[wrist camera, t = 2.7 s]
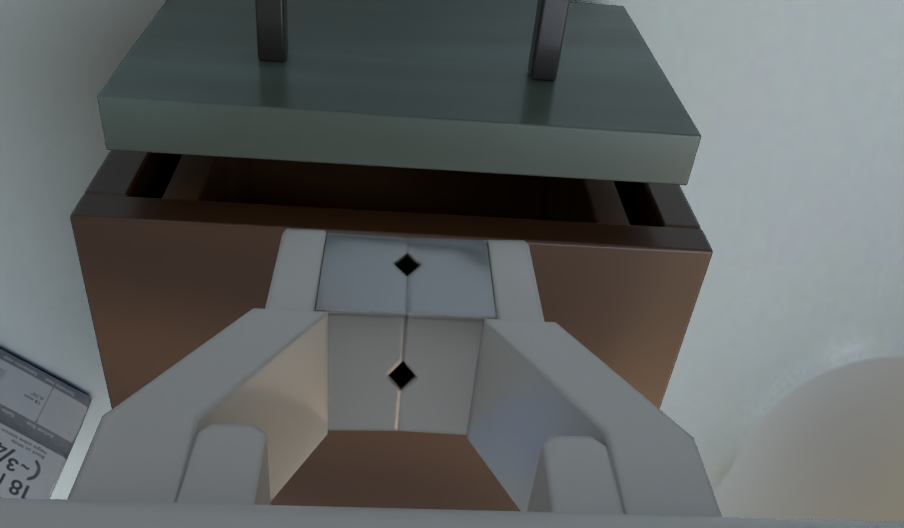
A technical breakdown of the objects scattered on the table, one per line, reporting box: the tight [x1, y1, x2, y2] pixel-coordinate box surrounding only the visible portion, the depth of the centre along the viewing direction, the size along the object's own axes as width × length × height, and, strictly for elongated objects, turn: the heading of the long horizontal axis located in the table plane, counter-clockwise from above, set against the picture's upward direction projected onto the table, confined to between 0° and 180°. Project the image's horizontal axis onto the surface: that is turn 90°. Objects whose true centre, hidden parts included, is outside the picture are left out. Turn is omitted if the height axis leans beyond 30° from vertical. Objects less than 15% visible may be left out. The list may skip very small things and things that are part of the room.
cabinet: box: [70, 150, 713, 511], centre depth 26 cm, size 16×13×10 cm
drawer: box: [97, 0, 701, 225], centre depth 23 cm, size 19×12×8 cm, turn 175°
